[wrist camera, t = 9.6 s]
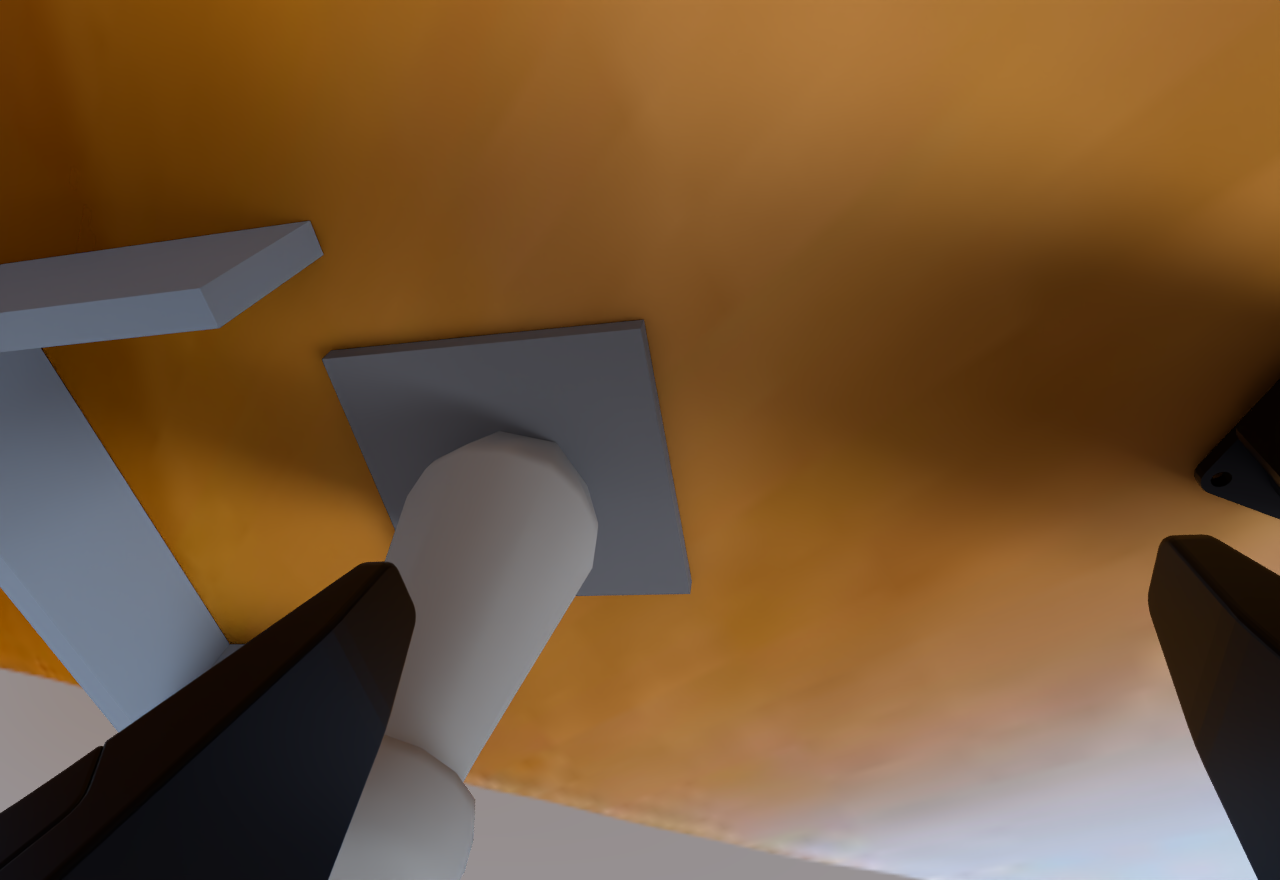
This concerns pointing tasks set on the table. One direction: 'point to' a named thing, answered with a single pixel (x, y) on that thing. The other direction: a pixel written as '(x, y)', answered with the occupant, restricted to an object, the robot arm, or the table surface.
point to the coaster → (532, 429)
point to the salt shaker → (466, 640)
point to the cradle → (86, 475)
